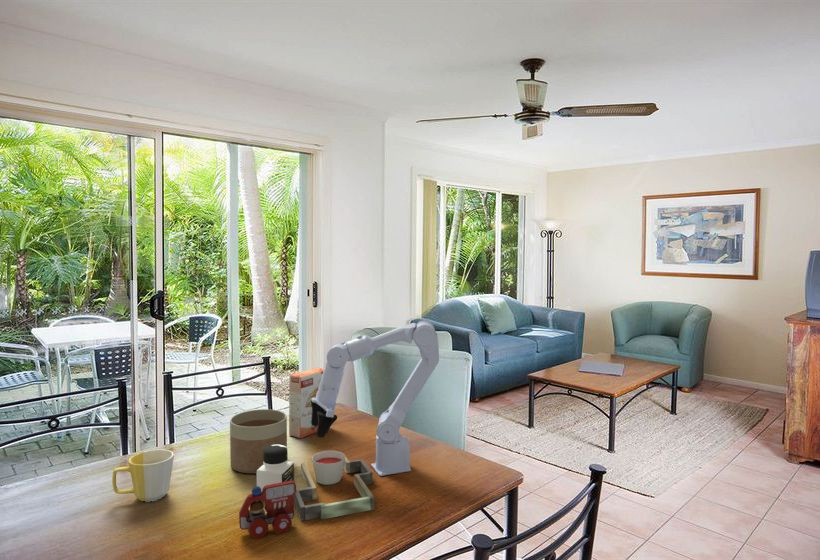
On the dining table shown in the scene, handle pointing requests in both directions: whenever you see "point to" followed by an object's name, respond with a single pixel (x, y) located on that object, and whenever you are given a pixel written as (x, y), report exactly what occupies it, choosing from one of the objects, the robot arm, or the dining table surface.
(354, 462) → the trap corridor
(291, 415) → the cracker box
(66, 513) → the dining table surface
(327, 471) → the candle
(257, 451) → the planter
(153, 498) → the mug
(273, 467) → the medicine bottle
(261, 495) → the toy fire truck
